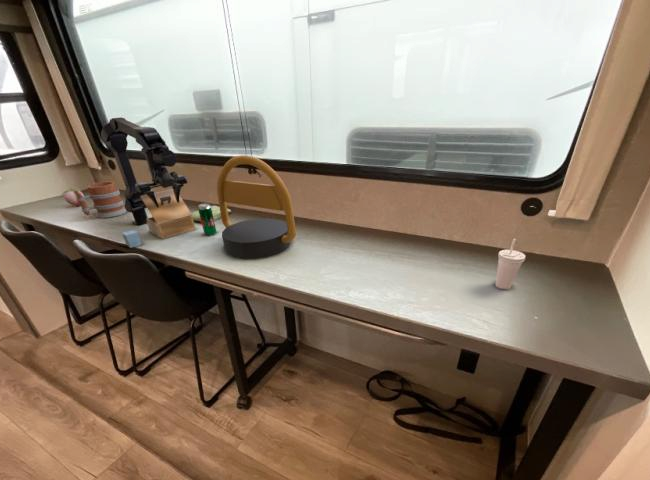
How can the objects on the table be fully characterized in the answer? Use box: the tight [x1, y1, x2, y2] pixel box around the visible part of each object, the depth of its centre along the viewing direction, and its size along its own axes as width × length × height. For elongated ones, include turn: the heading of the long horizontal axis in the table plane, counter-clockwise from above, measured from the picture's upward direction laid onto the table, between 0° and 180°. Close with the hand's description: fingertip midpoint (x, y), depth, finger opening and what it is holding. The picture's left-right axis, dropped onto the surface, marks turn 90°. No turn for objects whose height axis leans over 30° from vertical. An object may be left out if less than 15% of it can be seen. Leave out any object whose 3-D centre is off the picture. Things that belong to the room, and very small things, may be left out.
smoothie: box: [495, 238, 526, 290], centre depth 89 cm, size 6×6×14 cm
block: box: [122, 229, 143, 249], centre depth 130 cm, size 4×4×5 cm
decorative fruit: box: [61, 187, 85, 207], centre depth 183 cm, size 9×8×10 cm
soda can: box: [197, 203, 217, 236], centre depth 135 cm, size 5×5×12 cm
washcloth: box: [191, 205, 232, 223], centre depth 157 cm, size 13×18×3 cm
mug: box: [74, 180, 128, 219], centre depth 164 cm, size 14×19×15 cm
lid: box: [140, 188, 192, 225], centre depth 136 cm, size 14×15×4 cm
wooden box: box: [146, 216, 196, 240], centre depth 142 cm, size 14×15×6 cm
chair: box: [216, 155, 297, 260], centre depth 117 cm, size 25×35×32 cm
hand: (168, 205), depth 136 cm, fingers open, 8 cm apart
